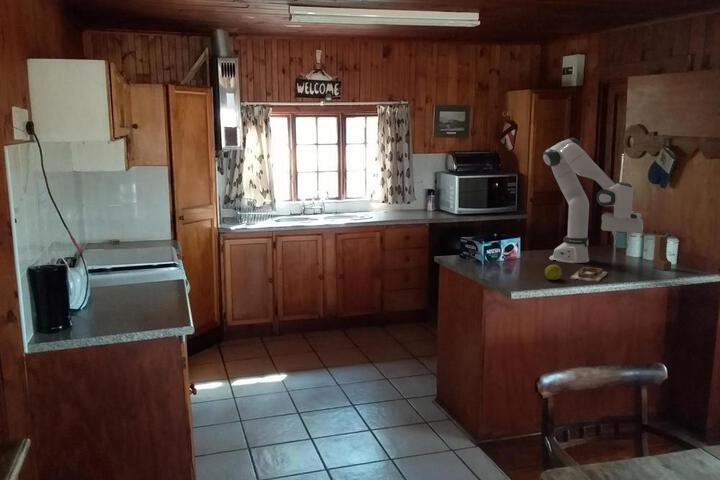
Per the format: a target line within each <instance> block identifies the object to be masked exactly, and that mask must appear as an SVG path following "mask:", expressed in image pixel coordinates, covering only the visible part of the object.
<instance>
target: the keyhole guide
mask: <svg viewBox="0 0 720 480" xmlns="http://www.w3.org/2000/svg"><path fill="white" fill-rule="evenodd" d="M603 270H604V269H603V268H599V267H588V266H582V268H580V269H579V270H578V271H576V272H575V273H573V274H572V275H571V276H570V278H569V279H570V280H576V279H578V280H579V281H587V282H593V283H594V282H595V283H598V282H600V281H601V280H602V279H603V278H605V276H607V275H608V271H603ZM578 280H577V281H578Z"/></svg>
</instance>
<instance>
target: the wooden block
mask: <svg viewBox="0 0 720 480" xmlns="http://www.w3.org/2000/svg"><path fill="white" fill-rule="evenodd" d="M654 236H655V238H654V251H653V252H654V253H653V268H655V269H658V270H661V271H671V270H672V261H669V259H668V258H667V248H668V236H667V235H664V234H660V235H659V234H658V235H654Z"/></svg>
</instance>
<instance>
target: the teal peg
mask: <svg viewBox="0 0 720 480" xmlns="http://www.w3.org/2000/svg"><path fill="white" fill-rule="evenodd" d="M616 236H617V239H616V240H615V248H618V249H625V248H626V246H627V245H626V244H627V241H625V237H627V232H617V231H616Z"/></svg>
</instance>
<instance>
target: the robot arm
mask: <svg viewBox="0 0 720 480" xmlns="http://www.w3.org/2000/svg"><path fill="white" fill-rule="evenodd" d="M542 159H543V162H544V163H545V164H546V165H547V166H548V167H551V171H552V173H553V176H554V178H555V181H556V182H557V184H558V186H559V189H560V191H561V192H562V194H563V196H564V198H565V199H566V202H567V204H568V218H567V235H566V236H564V237H563V242H562V243H561V244H560V245H558V246H557V247H555V248H554V250H553V254H552V255H550V256H549V258H548V259H550V260H549V261H553V260H556V262H559V263H560V262H561V263H568V264H578V263H583V264H584V263H589V262H590V258H589V252H588V247H589V237H588V230H589V215H590V214H589V213H590V201H589V199H588V196H587V195H586V192H585V191H584V189H583V185H581V182H580V180H579V178H578V176H580V177H584V178H588V179H591V180H593V181H595V182H597V184H598V185H599V186H600V187H601V188H602V189H600V190H599V191H598V192H597V194H596V201H597V203H598V204H599V206H602V207H613V213H611V212H605V213H603V214H602V215H601V226H600V229H601V230H602V231H605V232H606V231H607V232H611V234H612V236H613V240H614V241H616V239H617V232H626V233H627V235H626V237H625V241H626V242H628V241H629V239H630V236H631V235H632V234H642V232H643V231H644V223H643V219H642V214H641V213H640V212H637V211H634V210H633V200H634V189H633V186H632V184H630V183H627V182H617V183H615V181H614V180H613V179H612V178H611V177H610V176H609V175H608V174H607V173H606V172H605V171H604V170H603V169H602V168H601V167H600V166H599V165H598V164H596V162H594V161H593V159H592V158H591V157H590V156H589V154H587V152H586V151H585V150H584V149H583V148H582V145H581V143H580V141H579V140H578V139H577V138H575V137H570V138H566V139H565V140H562V141H560V142H557V143H556V144H555V145H552V146H551V147H550V148H547V149H546V150H544V151H543V153H542Z"/></svg>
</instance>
